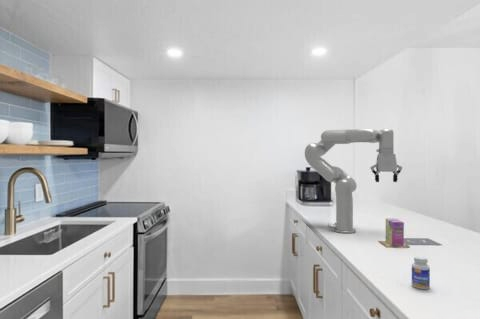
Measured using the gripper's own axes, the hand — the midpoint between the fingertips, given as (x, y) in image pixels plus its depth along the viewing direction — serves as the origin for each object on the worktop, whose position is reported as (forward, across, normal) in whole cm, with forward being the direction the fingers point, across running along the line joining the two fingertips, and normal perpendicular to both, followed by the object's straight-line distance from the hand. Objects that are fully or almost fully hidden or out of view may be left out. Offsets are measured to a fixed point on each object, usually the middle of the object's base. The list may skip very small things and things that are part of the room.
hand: (386, 182), depth 191 cm
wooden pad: (+30, -4, -20) cm, 37 cm away
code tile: (+30, +11, -13) cm, 35 cm away
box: (+30, -3, -20) cm, 36 cm away
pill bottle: (+31, -18, -77) cm, 85 cm away
